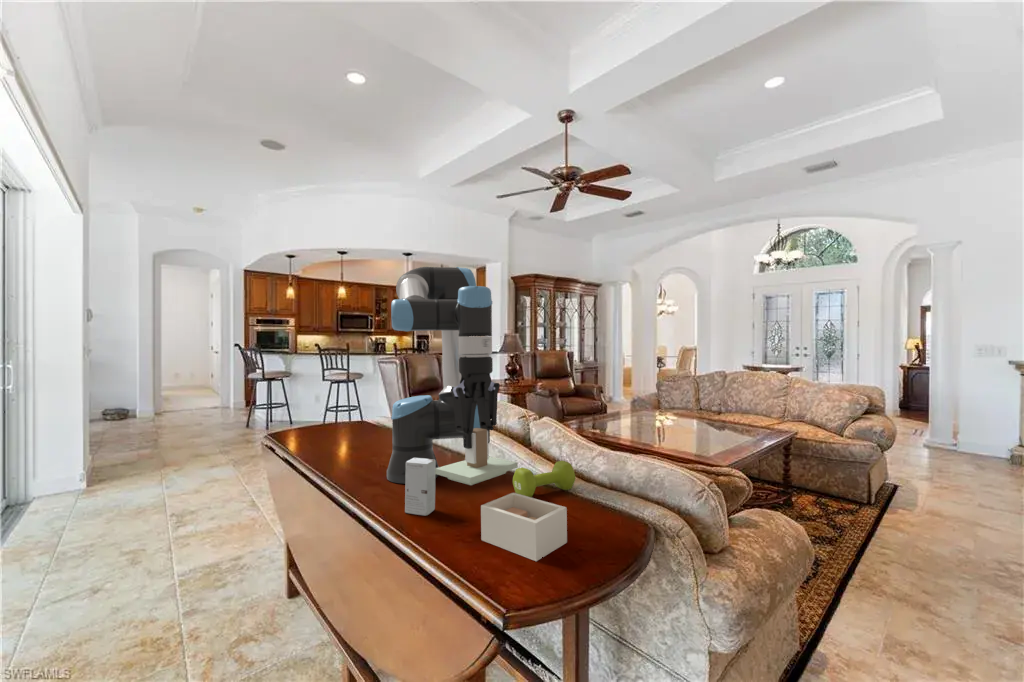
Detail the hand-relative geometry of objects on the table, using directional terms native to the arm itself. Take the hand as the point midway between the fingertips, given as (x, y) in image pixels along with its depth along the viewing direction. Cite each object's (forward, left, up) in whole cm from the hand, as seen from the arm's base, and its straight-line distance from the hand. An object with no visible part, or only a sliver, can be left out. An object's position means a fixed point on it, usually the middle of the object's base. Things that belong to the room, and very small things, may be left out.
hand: (477, 460), depth 104 cm
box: (+15, -2, -13) cm, 20 cm away
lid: (0, 0, -4) cm, 4 cm away
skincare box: (-14, -5, -14) cm, 20 cm away
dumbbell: (0, +24, -14) cm, 28 cm away
